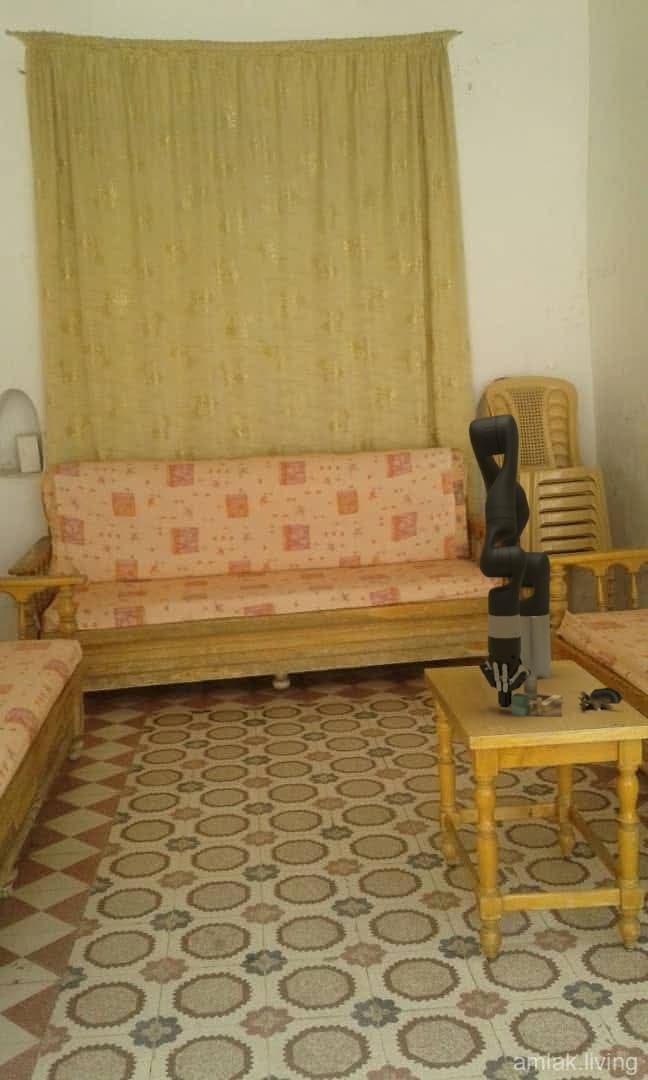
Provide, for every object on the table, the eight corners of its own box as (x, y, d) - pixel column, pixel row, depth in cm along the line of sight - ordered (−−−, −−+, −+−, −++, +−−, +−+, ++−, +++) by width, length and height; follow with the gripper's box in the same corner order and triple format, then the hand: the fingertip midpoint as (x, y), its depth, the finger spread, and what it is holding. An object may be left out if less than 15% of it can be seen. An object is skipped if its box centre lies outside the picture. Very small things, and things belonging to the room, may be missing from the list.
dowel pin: (537, 714, 239) (536, 697, 238) (542, 714, 239) (541, 697, 238) (536, 716, 238) (536, 698, 237) (542, 716, 237) (541, 699, 237)
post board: (502, 700, 256) (501, 667, 255) (561, 700, 253) (560, 667, 252) (499, 721, 240) (498, 686, 239) (562, 721, 237) (561, 686, 236)
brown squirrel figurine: (587, 716, 236) (626, 707, 236) (577, 686, 239) (616, 677, 239) (583, 725, 243) (622, 716, 243) (574, 696, 246) (612, 687, 246)
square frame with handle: (528, 697, 253) (527, 680, 252) (562, 702, 247) (562, 684, 247) (500, 712, 242) (499, 694, 241) (535, 718, 236) (535, 699, 236)
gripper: (470, 632, 242) (472, 705, 244) (520, 639, 233) (521, 715, 235) (489, 626, 247) (490, 697, 249) (538, 633, 238) (538, 707, 241)
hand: (505, 706), depth 242 cm, fingers closed
